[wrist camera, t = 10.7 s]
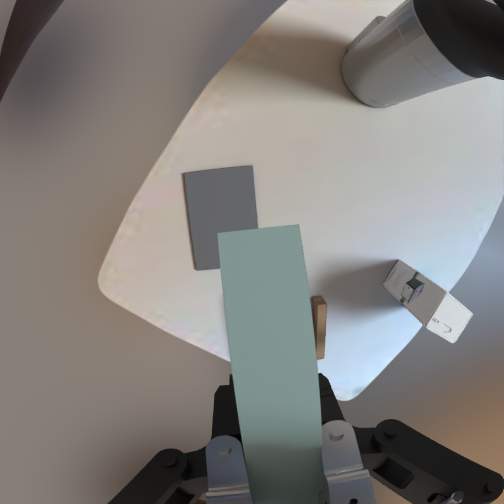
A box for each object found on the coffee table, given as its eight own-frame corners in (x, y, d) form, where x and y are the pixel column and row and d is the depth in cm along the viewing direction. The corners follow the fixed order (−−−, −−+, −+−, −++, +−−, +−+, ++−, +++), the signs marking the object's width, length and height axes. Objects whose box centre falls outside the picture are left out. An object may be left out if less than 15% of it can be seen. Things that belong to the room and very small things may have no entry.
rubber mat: (184, 173, 30) (184, 173, 30) (252, 165, 31) (252, 165, 30) (197, 269, 34) (196, 270, 34) (260, 263, 34) (260, 264, 34)
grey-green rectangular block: (217, 233, 8) (259, 537, 6) (298, 224, 8) (323, 528, 6) (232, 268, 15) (257, 461, 13) (277, 263, 15) (298, 456, 13)
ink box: (429, 281, 37) (475, 313, 25) (412, 308, 38) (454, 345, 26) (397, 258, 35) (448, 289, 24) (379, 287, 36) (424, 327, 25)
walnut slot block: (280, 301, 36) (283, 309, 33) (321, 295, 36) (326, 304, 33) (282, 354, 38) (285, 364, 36) (319, 348, 38) (324, 358, 36)
